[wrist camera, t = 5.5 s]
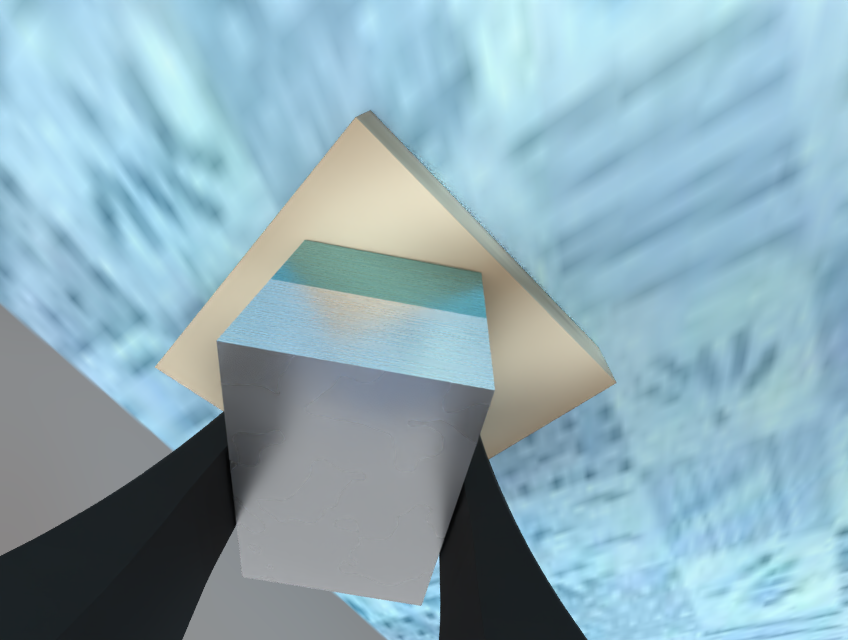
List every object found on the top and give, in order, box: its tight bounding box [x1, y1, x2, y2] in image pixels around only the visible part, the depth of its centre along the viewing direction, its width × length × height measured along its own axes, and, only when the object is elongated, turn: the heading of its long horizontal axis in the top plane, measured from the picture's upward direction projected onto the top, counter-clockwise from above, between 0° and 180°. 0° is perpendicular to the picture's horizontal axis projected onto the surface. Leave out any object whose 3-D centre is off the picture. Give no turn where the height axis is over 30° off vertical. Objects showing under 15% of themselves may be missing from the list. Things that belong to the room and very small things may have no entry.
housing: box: [216, 240, 495, 606], centre depth 12 cm, size 8×5×5 cm, turn 170°
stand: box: [155, 110, 616, 459], centre depth 15 cm, size 11×11×2 cm
